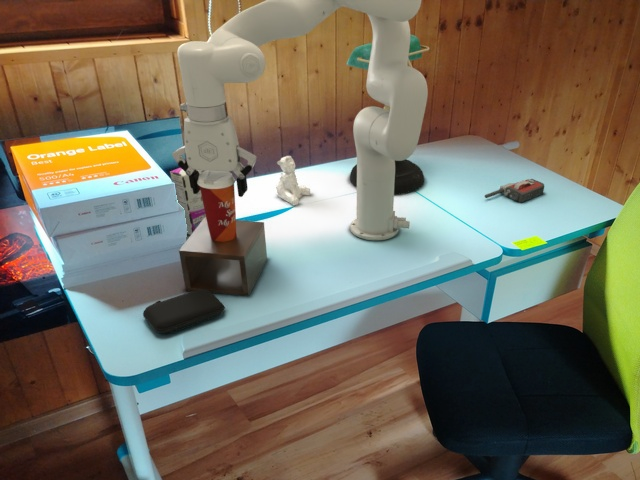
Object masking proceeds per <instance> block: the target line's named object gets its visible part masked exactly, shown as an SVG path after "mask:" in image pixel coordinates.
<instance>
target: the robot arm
mask: <svg viewBox="0 0 640 480" xmlns="http://www.w3.org/2000/svg"><path fill="white" fill-rule="evenodd" d="M421 5H422V0H264V1H262V2H260V3H257V4H255V5H253V6H250V7H248V8H246V9H244V10H242V11H240V12H238V13H237V14H235V15H234V16H232V17H231V18H230V19H229V20H227V21H226V22H225V23H224V24H222V25H221V26H219V27H218V28H217V29H216V30H215V31H214V32H213V33H212V34H211V35H210V36H209V38H208V40H207V41H203V40H202V41H201V40H199V41H198V40H195V41H187V42H185V43H182V44H181V45H180V46H178V48H177V60H178V65H179V72H180V76H181V82H182V83H181V84H182V89H183V94H184V100H185V101H184V103H180V105H179V110H180V111H181V112H184V113H186V117H185V118H184V121H183V122H184V123H183V136H184V137H183V138H184V146H181V147H179V148H177V149H176V150H174V151H173V152H172V153H171V156H172V158H173V160H174V161H175V162H176V163H177V166H178V168H181V169H183V170H184V171H185V173H186V175H187V176H189V181H190V187H191V188H192V189H193V194H197V193H198V192H199V191H200V186H199V185H198V184H197V181H198V179H199V172H198V171H197V170H207V171H225V172H232V173H234V174H235V175H236V176H237V178H236V179H235V182H236V189H237V196H238V197H240V198H243V197H244V196H245V193H246V192H247V191H248V181H247V180H248V179H247V176H248V175H249V173H250V172H251V171H252V170H253V168H254V166H255V164H256V162H257V160H258V156H257V155H255V154H253V153H252V152H250V151H248V150H246V149H244V148H242V147H241V146H240V143H239V138H238V135H237V130H236V127H235V125H234V121H233V118H232V117H231V116H230V115H229V114H228V105H227V97H226V91H225V84H247V83H252V82H255V81H257V80H258V79H259V78H260V77H262V76H263V74H264V72H265V69H266V58H265V55H264V53H263V51H262V50H261V48H259V47H261V46H263V45H266V44H268V43H270V42H274V41H279V40H286V39H294V38H299V37H303V36H306V35H307V34H309V33H310V32H311V31H312V30H314V29H315V28H316V27H317V26H319V25H320V24H321V23H322V22H323V21H325V20H327V18H328V17H329V16H331V15H332V14H333V13H335V12H336V11H337V10H339V9H340V8H342V7H343V8H346V9H351V10H353V11H358V12H360V13H364V14H366V16H367V17H368V19H369V21H370V25H371V29H372V41H371V43H372V49H371V55H370V61H369V68H368V70H367V76H366V83H365V88H366V93H367V94H368V95H369V96H370V97H371V99H373V100H375V101H376V102H379V103H380V104H382V105H384V106H385V105H387V106H389V107H390V111H387V110H385V109H384V107H383V108H382V107H379V106H373V105H371V106H366V107H363V108H362V109H360V110H359V112H358V113H357V114H356V116H355V118H354V120H353V125H352V126H353V128H352V133H353V140H354V141H353V142H354V145H355V152H356V153H355V155H356V164H357V187H356V218H355V219H354V220H353V221H351V223H350V232H351V234H353V235H354V236H356V237H357V238H360V239H363V240H366V241H367V240H368V241H384V240H388V239H391V238H393V237H395V236H396V235H397V234H398V233H399V228H400V229H408V230H409V229H410V225H411V221H410V220H407V218H406V217H399V216H397V215H396V210H394V201H395V195H394V182H395V160H396V161H402V160H405V159H407V160H408V159H409V158H410V157H411V156H412V155H413V154H414V152H415V151H416V148H417V146H418V144H419V140H420V136H421V133H422V132H421V131H422V128H423V123H424V117H425V113H426V107H427V102H428V98H429V97H428V96H429V90H428V84H427V79H426V78H425V76H424V74H423V73H421V72H420V71H419V70H417V68H415V67H413V66H412V67H413V68H412V67H409V65H408V55H409V47H410V35H411V27H410V22H409V21H410V20H412V19H413V18H414V17H415V16H416V15H417V14H418V13H419V11H420V9H421ZM183 155H185V158H186V159H185V158H184V156H183ZM242 159H244V160H246V161H247V163H246V165H245V166H244V165H243V163H242Z"/></svg>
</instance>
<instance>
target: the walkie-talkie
mask: <svg viewBox="0 0 640 480" xmlns="http://www.w3.org/2000/svg"><path fill="white" fill-rule="evenodd" d="M544 191H545V183H543V182H541V181H538V180H536V179H534V178H528V179H524V180H520V181H516V182H510V183H506V184H504V185H500V188H499V189H497V190H494V191H492V192H490V193H486V194H484V198H485V199H488V198H490V197H494V196H496V195H498V194H502V195H504V197H507V198H509V199H512V200H513V201H516V202H518V203H523V202H526V201H528V200H531V199H533V198H535V197H538V196H541V195H543V194H544Z"/></svg>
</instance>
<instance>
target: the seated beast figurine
mask: <svg viewBox="0 0 640 480" xmlns="http://www.w3.org/2000/svg"><path fill="white" fill-rule="evenodd" d="M276 164H277V165H278V166H279V168H280V169H281V171H282V172H281V174H280V175H279V181H278V183H277V184H276V186H275V189H276V193H277V195H278V197H279V198H280V199H282V200H283V201H285V202H287V203H288V204H290V205H292V206H297V205H299V203H300V200H299V199H300V198H302V197H303V196H307V197H308V196H311V188H310V187H306V185H299V183H298V178H297V175H296V172H295V171H296V163H295V160H294V158H292V156H291V155H286V156H283V157H281V158H280V160H277V161H276Z"/></svg>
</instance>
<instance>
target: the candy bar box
mask: <svg viewBox="0 0 640 480" xmlns="http://www.w3.org/2000/svg"><path fill="white" fill-rule="evenodd" d="M197 171H198V172H199V175H200V174H201V173H202V172H205V171H207V170H197ZM169 175H170V180H171V182H172V181H173V182H174V183H175V186H176V195H177V200H178V203H179V204H180V205H181V206H182V207H183V208H184V210H185V218H186V224H187V231H188V232H187V234H186V235H188V236H191V234H192V233H193V232H194V230H195V229H196V228H197V227H198V225H199V224H200V223H201V221H202V220H203V219H204V218H206V215H205V210H204V205H203V200H202V195H201V191H199V192H198V193H197V194H193V189H192V188H191V187H190V181H189V176H187V175H186V173H185V171H184V170H183V169H181V168H180V167H178V168H176V169H173V170H171V171H169Z"/></svg>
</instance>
